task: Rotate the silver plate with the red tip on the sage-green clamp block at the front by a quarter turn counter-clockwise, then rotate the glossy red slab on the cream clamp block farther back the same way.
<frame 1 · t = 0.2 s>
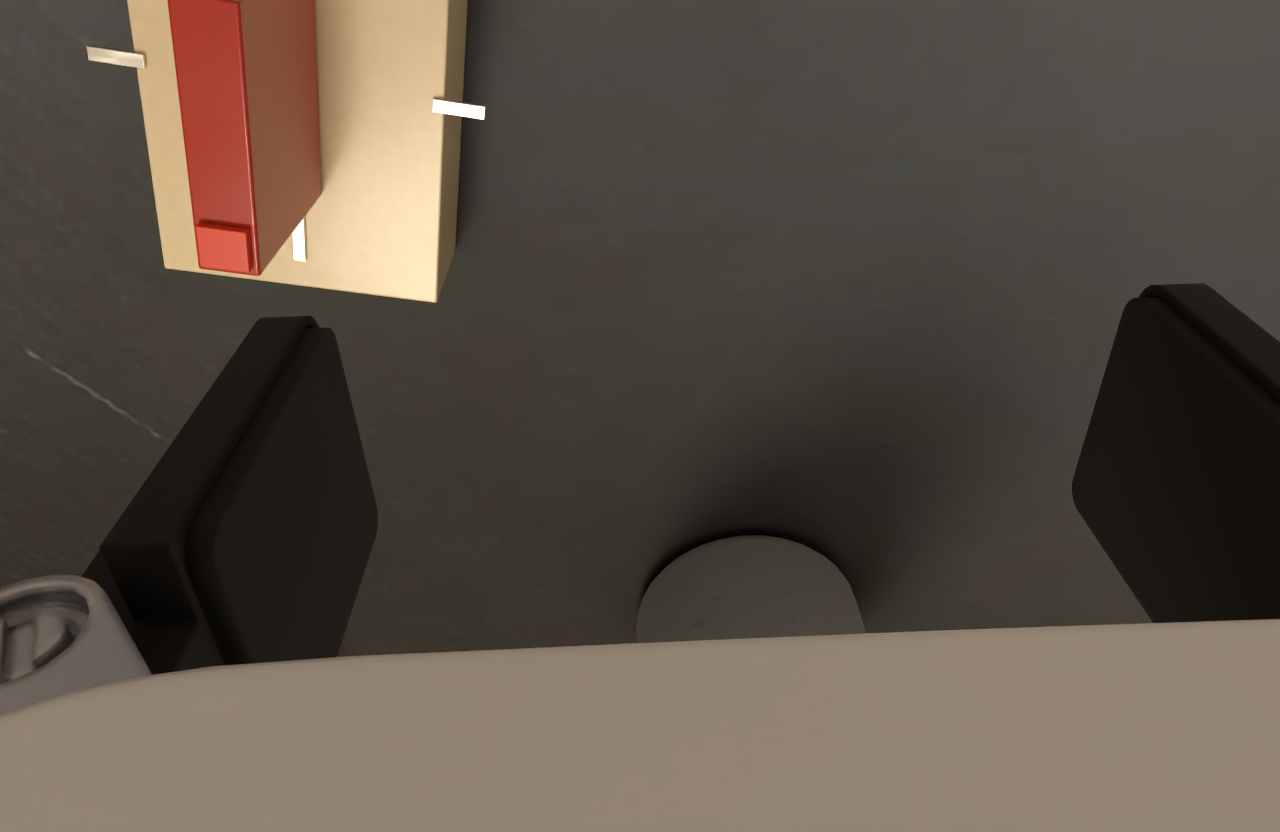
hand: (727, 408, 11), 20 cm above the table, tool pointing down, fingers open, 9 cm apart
water bottle: (740, 607, 41), on the table
glossy red slab: (256, 112, 22), point 7 cm above the table, hinge at 0.0°
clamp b: (330, 49, 27), on the table
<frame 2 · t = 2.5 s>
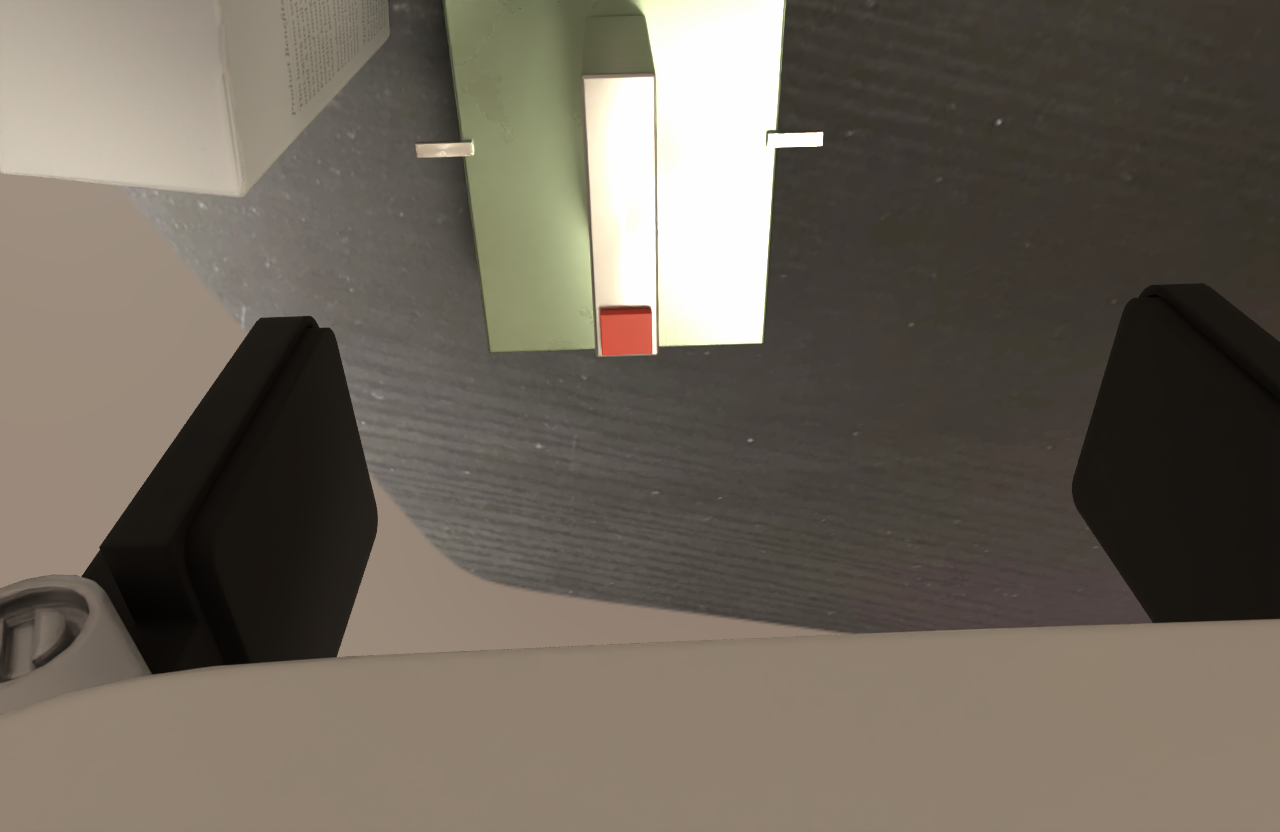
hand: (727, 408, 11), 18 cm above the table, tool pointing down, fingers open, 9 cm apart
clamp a: (618, 99, 26), on the table
silver plate red tip: (621, 183, 20), point 7 cm above the table, hinge at 0.0°
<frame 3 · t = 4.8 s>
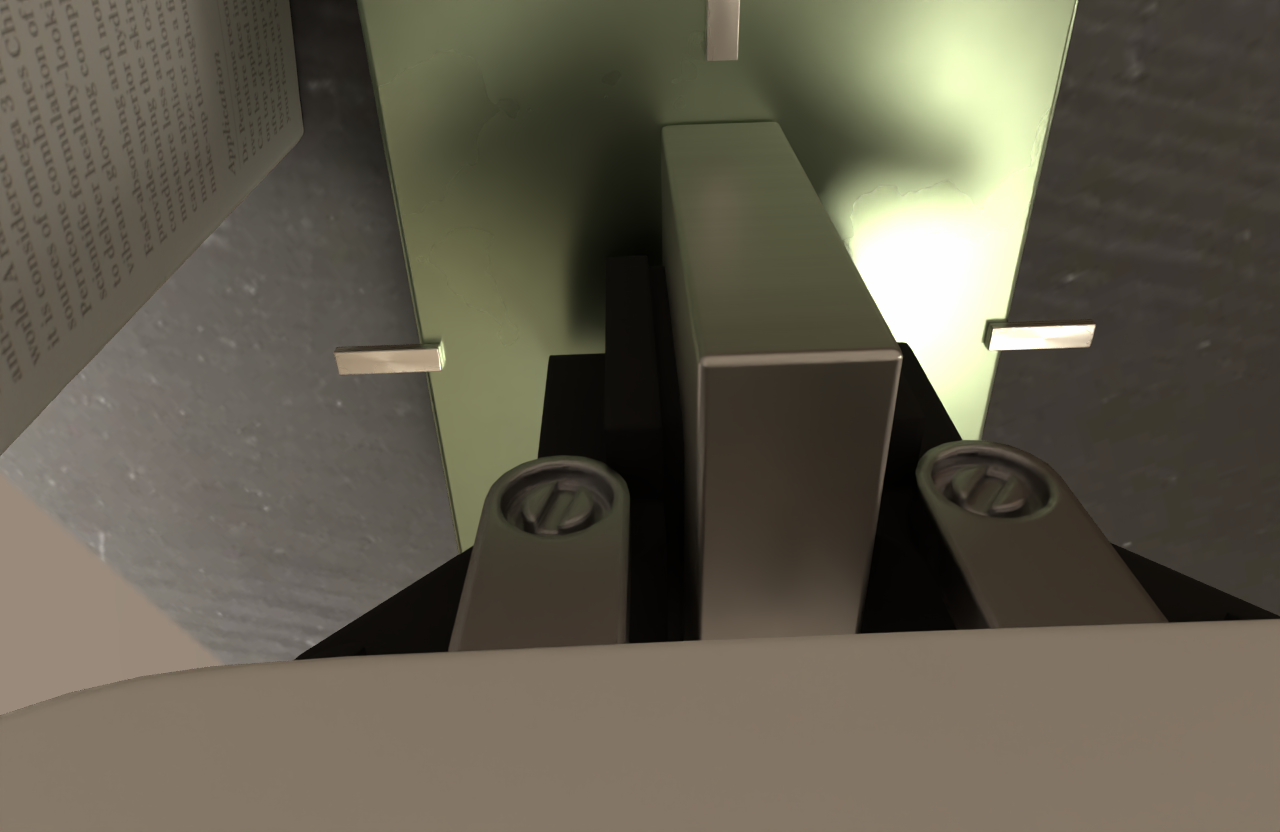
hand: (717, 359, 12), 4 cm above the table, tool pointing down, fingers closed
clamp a: (692, 231, 16), on the table
silver plate red tip: (740, 474, 10), point 7 cm above the table, hinge at 0.0°, touching gripper
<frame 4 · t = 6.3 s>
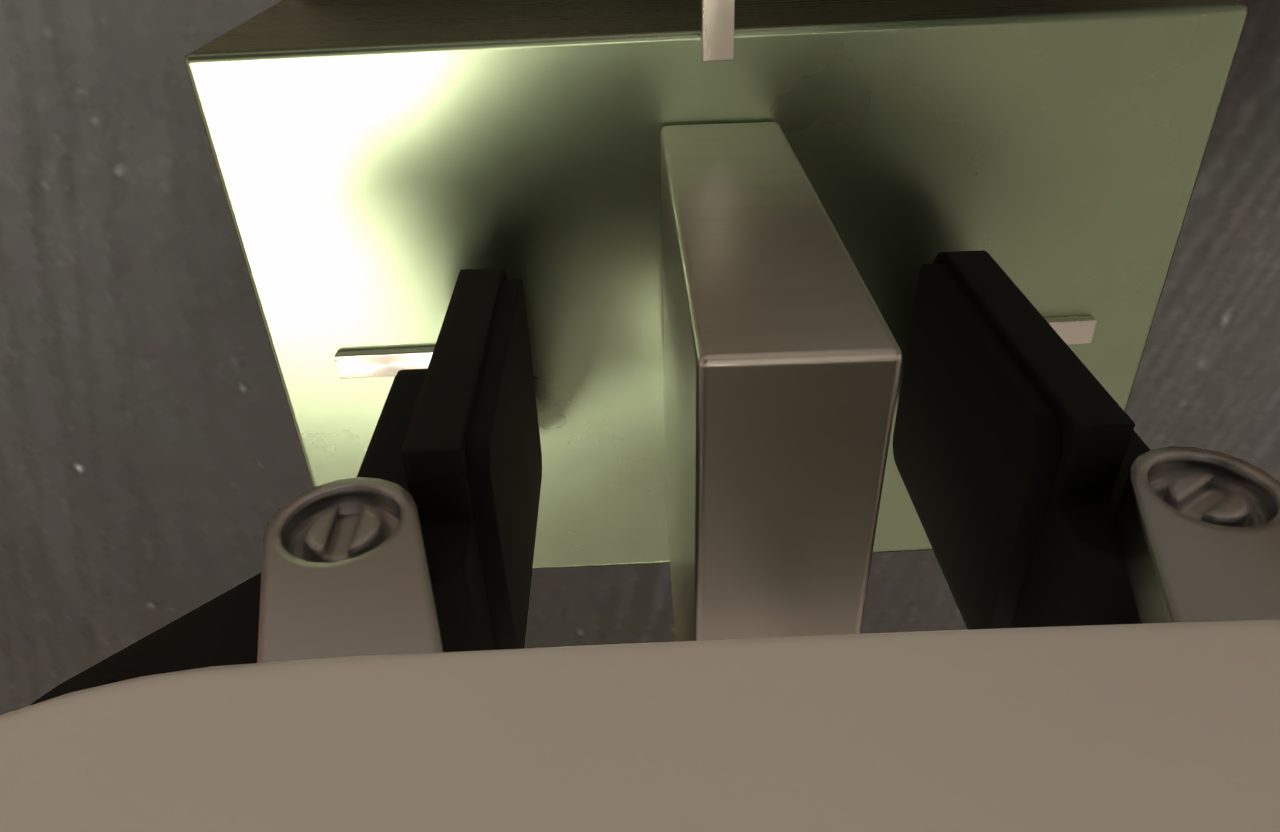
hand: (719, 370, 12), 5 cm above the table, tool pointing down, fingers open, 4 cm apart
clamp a: (692, 231, 16), on the table
silver plate red tip: (740, 474, 10), point 7 cm above the table, hinge at 89.3°
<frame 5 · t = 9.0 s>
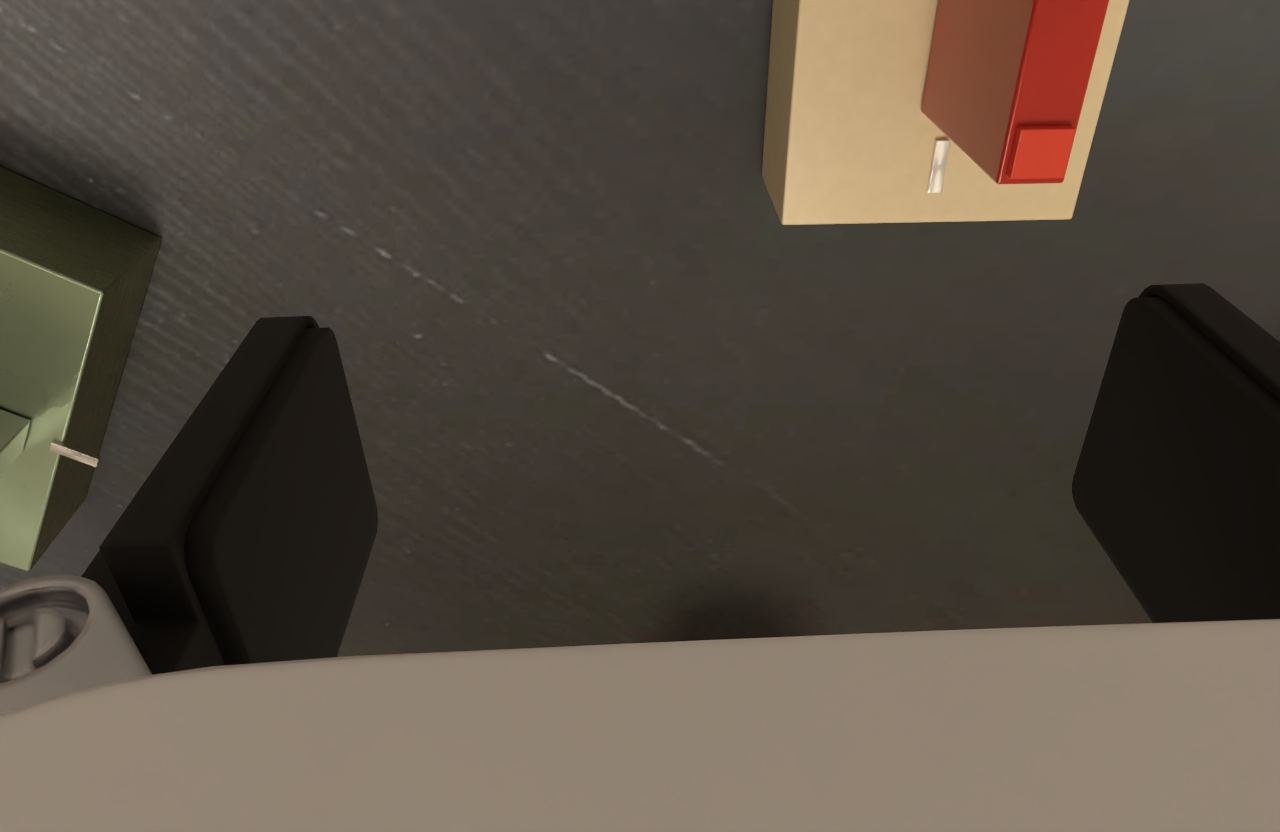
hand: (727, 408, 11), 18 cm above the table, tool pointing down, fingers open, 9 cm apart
glossy red slab: (1014, 3, 19), point 7 cm above the table, hinge at 0.0°
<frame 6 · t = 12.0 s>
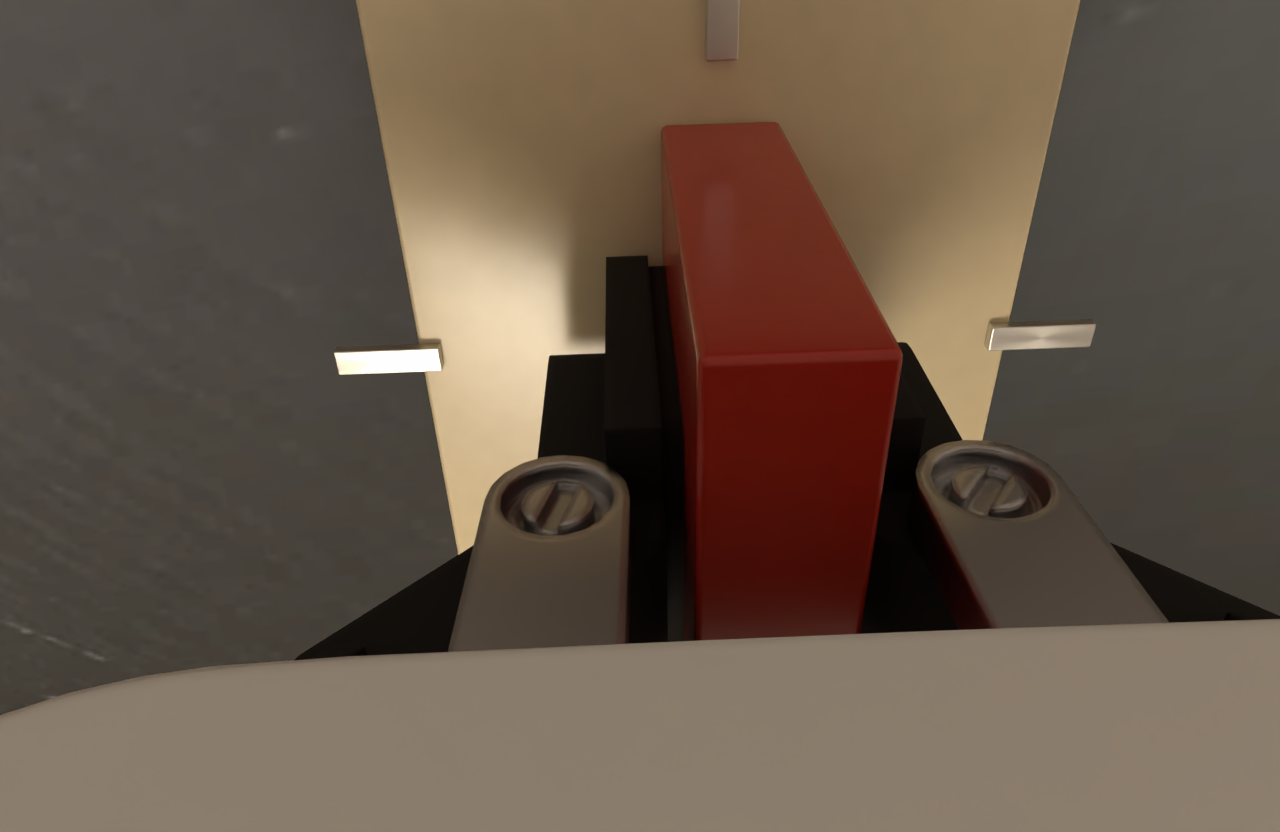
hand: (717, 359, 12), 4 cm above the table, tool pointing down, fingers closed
glossy red slab: (740, 474, 10), point 7 cm above the table, hinge at 0.0°, touching gripper
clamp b: (692, 231, 16), on the table
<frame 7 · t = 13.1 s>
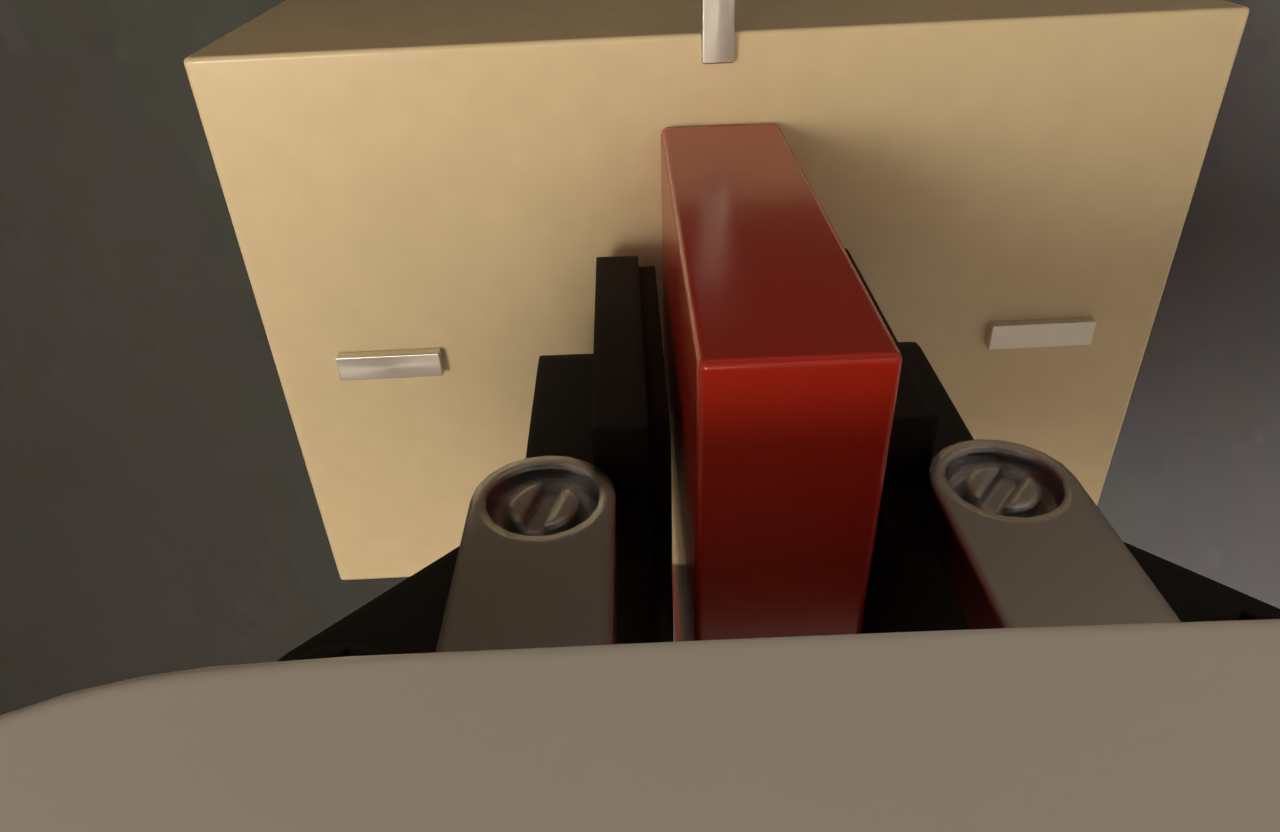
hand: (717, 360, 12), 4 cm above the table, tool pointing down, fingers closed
glossy red slab: (740, 476, 10), point 7 cm above the table, hinge at 89.3°
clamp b: (692, 232, 16), on the table
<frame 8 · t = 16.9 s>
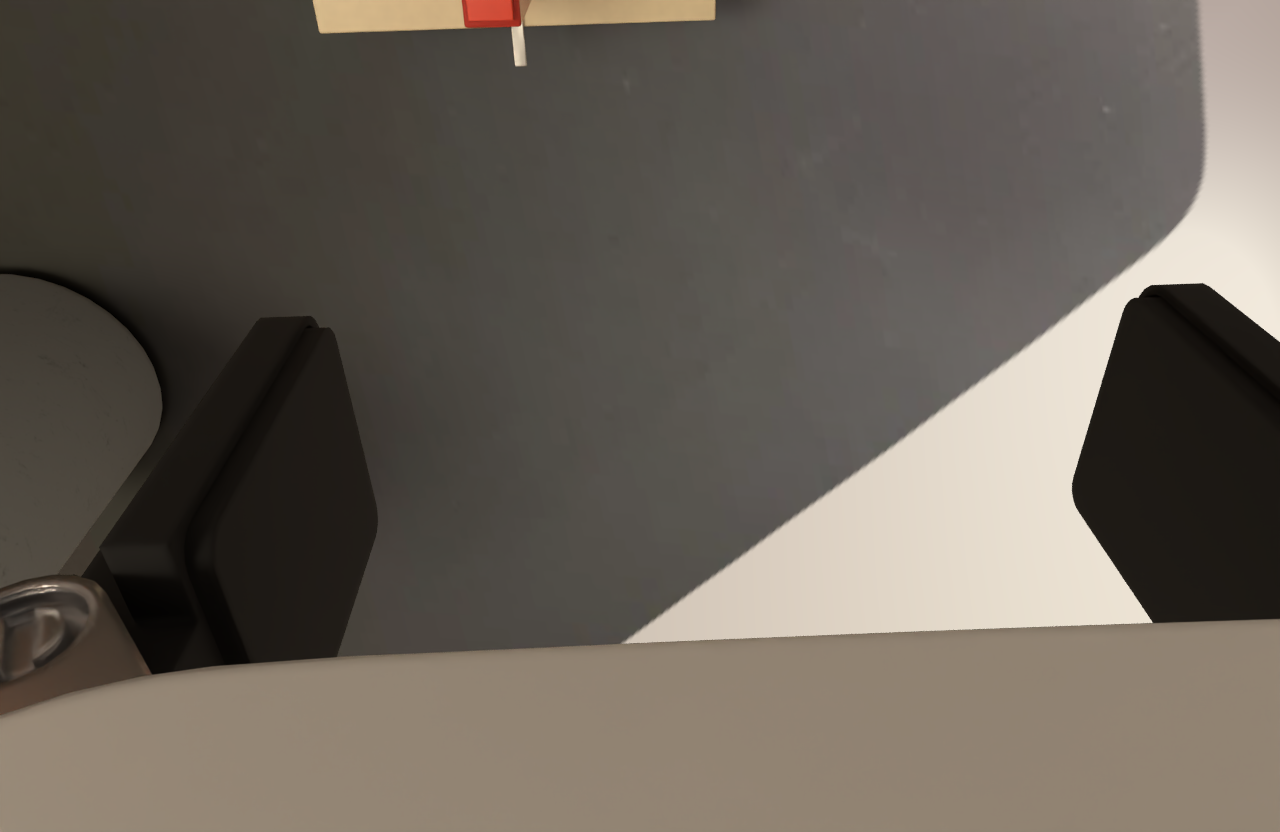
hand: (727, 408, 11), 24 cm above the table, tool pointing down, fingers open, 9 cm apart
water bottle: (45, 367, 38), on the table
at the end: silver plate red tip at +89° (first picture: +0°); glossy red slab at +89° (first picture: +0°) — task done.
